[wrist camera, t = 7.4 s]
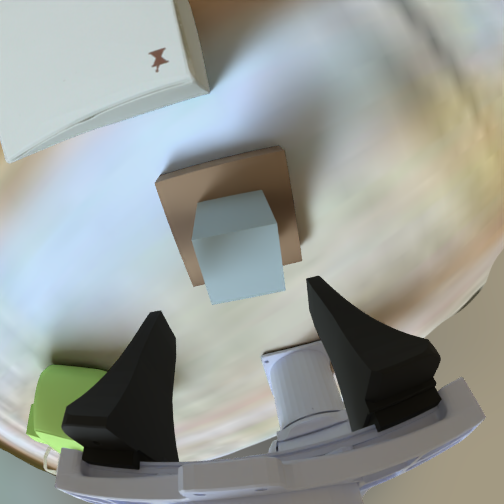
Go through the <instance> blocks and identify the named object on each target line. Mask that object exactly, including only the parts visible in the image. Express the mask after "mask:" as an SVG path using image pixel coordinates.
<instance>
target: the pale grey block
mask: <svg viewBox="0 0 504 504" xmlns="http://www.w3.org/2000/svg"><path fill="white" fill-rule="evenodd" d="M192 243H193V247H194V250H195V253H196V257H197V260H198V263H199V266H200V269H201V273H202V276H203V279H204V282H205V285H206V288H207V291H208V294H209V297H210V300H211V303H212V305H214V304H219V303H224V302H230V301H235V300H240V299H246V298H251V297H256V296H261V295H266V294H271V293H275V292H280V291H285V281H284V273H283V265H282V257H281V250H280V242H279V234H278V227H277V222H276V220H275V218H274V215H273V213H272V211H271V209H270V206H269V204H268V202H267V200H266V198H265V195H264V193H263V191H262V190H257V191H252V192H247V193H241V194H236V195H231V196H226V197H222V198H217V199H212V200H207V201H203V202H198V203H197V209H196V215H195V222H194V228H193V234H192Z"/></svg>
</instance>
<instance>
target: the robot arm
mask: <svg viewBox="0 0 504 504" xmlns="http://www.w3.org/2000/svg"><path fill="white" fill-rule="evenodd" d="M306 281H307V291H308V301H309V310H310V313H311V316H312V320H313V323H314V326H315V328H316V331H317V333H318V335H319V337H320V339H321V340H320V341H317V342H313V343H309V344H306V345H302V346H298V347H294V348H290V349H286V350H282V351H277V352H273V353H269V354H264V355H262V357H261V359H262V363H263V366H264V369H265V372H266V375H267V379H268V382H269V385H270V388H271V391H272V394H273V395H274V399H275V404H276V409H277V414H278V419H279V425H280V431H277V437H278V440H275V441H273V442H272V444H271V446H270V448H269V451H268V453H266V454H260V455H254V456H247V457H240V458H231V459H222V460H210V461H194V462H179V459H178V453H177V448H176V440H175V433H174V422H173V404H172V396H173V383H174V373H175V363H176V338H175V336H174V334H173V332H172V330H171V329H170V327H169V325H168V323H167V321H166V319H165V317H164V316H163V314H162V312H161V311H155V312H150V313H149V315H148V316H147V318H146V319H145V321H144V322H143V324H142V325H141V327H140V328H139V330H138V332H137V333H136V335H135V336H134V338H133V339H132V341H131V342H130V344H129V345H128V346H127V348H126V349H125V351H124V352H123V353H122V355H121V356H120V358H119V359H118V360H117V361H116V363H115V364H114V365H113V366H112V367H111V369H110V370H109V371H108V372H107V373H106V374H105V375H104V376H103V377H102V378H101V379H100V380H99V381H98V382H97V383H96V384H95V385H94V386H93V387H92V388H90V389H89V390H88V391H87V392H86V393H84V394H83V395H82V396H81V397H79V398H78V399H76V400H75V401H74V402H72V403H71V404H69V405H68V406H66V410H65V413H64V417H63V421H62V425H61V428H62V430H63V432H64V433H65V434H66V435H67V436H69V437H70V438H71V439H73V440H74V441H76V442H77V443H79V444H80V445H82V446H83V447H84V449H83V452H82V451H79V450H75V449H69V448H64V447H63V448H61V453H60V458H59V463H58V469H57V475H56V482H55V488H57V489H59V490H61V491H63V492H65V493H67V494H70V495H72V496H74V497H77V498H79V499H81V500H84V501H87V502H91V503H95V504H363V500H362V497H363V496H364V495H365V494H366V493H367V491H368V490H369V489H370V488H371V487H373V486H376V485H378V484H380V483H383V482H385V481H387V480H389V479H392V478H394V477H396V476H398V475H401V474H403V473H405V472H407V471H409V470H411V469H413V468H415V467H417V466H419V465H420V464H422V463H424V462H426V461H428V460H430V459H431V458H433V457H435V456H437V455H439V454H440V453H442V452H444V451H446V450H447V449H448V448H451V447H452V446H454V445H455V444H457V443H459V442H460V441H462V440H463V439H464V438H465V437H467V436H468V435H469V434H470V433H471V432H472V431H473V430H474V429H475V428H476V427H477V426H478V425H479V424H480V423H482V421H484V419H485V417H486V416H485V414H484V413H483V411H482V409H481V407H480V405H479V404H478V402H477V400H476V398H475V397H474V395H473V393H472V392H471V390H470V388H469V387H468V385H467V383H466V382H465V380H464V378H463V377H460V378H458V379H456V380H455V381H453V382H451V383H449V384H447V385H445V386H444V387H442V388H441V389H440V390H439V391H438V392H437V390H436V388H435V386H436V381H435V380H434V378H433V376H434V374H435V372H436V370H437V368H438V366H439V363H440V360H441V358H440V355H439V354H438V352H437V350H436V349H435V347H434V346H433V345H432V344H431V343H430V341H429V340H428V339H424V338H420V337H417V336H413V335H410V334H407V333H404V332H401V331H399V330H396V329H394V328H392V327H390V326H387V325H385V324H383V323H381V322H379V321H377V320H375V319H374V318H372V317H370V316H369V315H367V314H365V313H364V312H362V311H361V310H359V309H358V308H357V307H355V306H354V305H352V304H351V303H350V302H348V301H347V300H346V299H345V298H343V297H342V296H341V295H340V294H339V293H337V292H336V291H335V290H334V289H333V288H332V287H331V286H330V285H329V284H327V283H326V282H325V281H324V280H323V279H322V278H321V277H320V276H315V277H311V278H307V279H306ZM330 361H331V363H332V366H333V368H334V371H335V374H336V378H337V381H338V384H339V387H340V390H341V394H342V397H343V401H344V404H345V407H344V405H343V402H342V399H341V396H340V393H339V391H338V388H337V385H336V382H335V380H334V377H333V374H332V371H331V369H330ZM345 408H346V409H345Z"/></svg>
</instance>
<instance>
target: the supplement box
mask: <svg viewBox="0 0 504 504" xmlns="http://www.w3.org/2000/svg"><path fill="white" fill-rule="evenodd" d="M209 93H210V88H209V83H208V78H207V73H206V68H205V63H204V58H203V54H202V49H201V45H200V41H199V36H198V32H197V28H196V25H195V21H194V17H193V14H192V10H191V7H190V4H189V2H188V0H0V141H1V145H2V148H3V152H4V156H5V159H6V162H7V163H12V162H15V161H17V160H19V159H22V158H24V157H26V156H29V155H31V154H34V153H36V152H38V151H41V150H43V149H46V148H48V147H50V146H53V145H55V144H57V143H60V142H62V141H65V140H67V139H70V138H72V137H75V136H78V135H80V134H83V133H86V132H89V131H92V130H94V129H97V128H100V127H103V126H107V125H110V124H114V123H117V122H120V121H123V120H127V119H129V118H132V117H135V116H138V115H142V114H145V113H148V112H151V111H154V110H157V109H160V108H163V107H166V106H169V105H172V104H175V103H179V102H182V101H185V100H188V99H192V98H195V97H198V96H202V95H206V94H209Z"/></svg>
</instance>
